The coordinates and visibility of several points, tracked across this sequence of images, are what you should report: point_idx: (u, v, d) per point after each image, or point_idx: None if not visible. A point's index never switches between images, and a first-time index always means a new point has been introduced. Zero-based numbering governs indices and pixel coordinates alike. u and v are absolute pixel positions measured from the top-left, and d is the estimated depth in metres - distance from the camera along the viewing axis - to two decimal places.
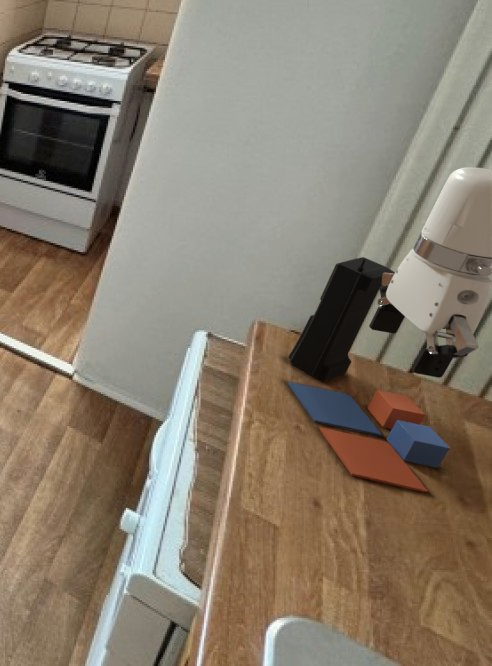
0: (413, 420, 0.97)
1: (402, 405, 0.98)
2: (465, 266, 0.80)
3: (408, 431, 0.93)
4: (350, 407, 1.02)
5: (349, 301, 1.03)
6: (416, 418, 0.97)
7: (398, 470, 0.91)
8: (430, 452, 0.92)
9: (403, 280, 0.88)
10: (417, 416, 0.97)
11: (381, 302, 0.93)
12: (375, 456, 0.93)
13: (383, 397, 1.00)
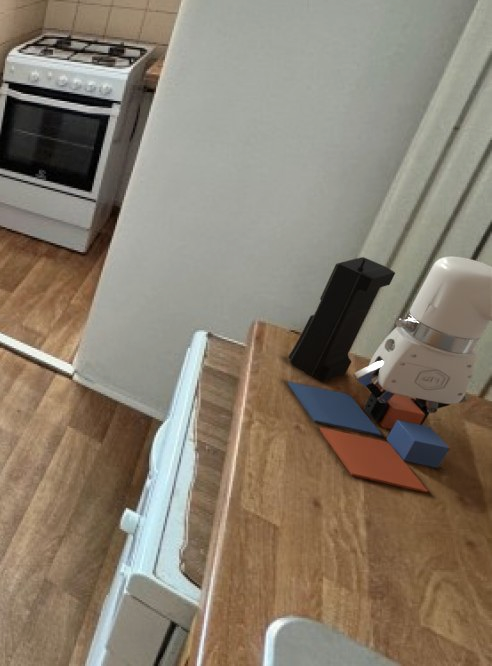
0: (413, 420, 0.97)
1: (402, 405, 0.98)
2: None
3: (408, 431, 0.93)
4: (350, 407, 1.02)
5: (349, 301, 1.03)
6: (416, 418, 0.97)
7: (398, 470, 0.91)
8: (430, 452, 0.92)
9: None
10: (417, 416, 0.97)
11: None
12: (375, 456, 0.93)
13: None
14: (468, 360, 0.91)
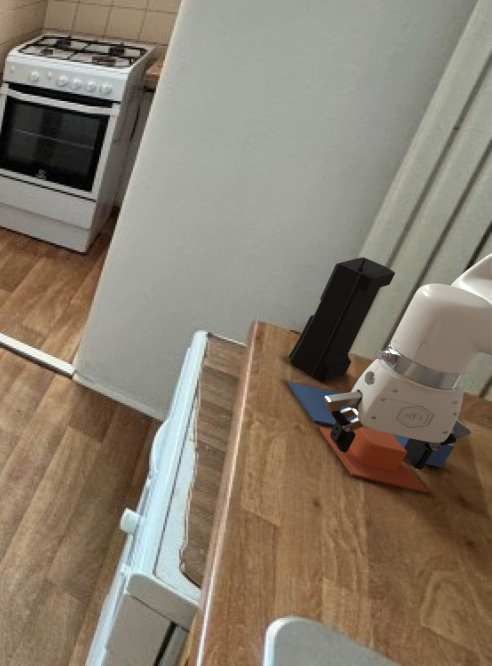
0: (394, 458, 0.90)
1: (383, 441, 0.91)
2: None
3: None
4: None
5: (349, 301, 1.03)
6: (397, 455, 0.90)
7: (398, 470, 0.91)
8: (435, 451, 0.91)
9: None
10: (398, 453, 0.90)
11: None
12: None
13: (362, 432, 0.93)
14: (454, 396, 0.84)
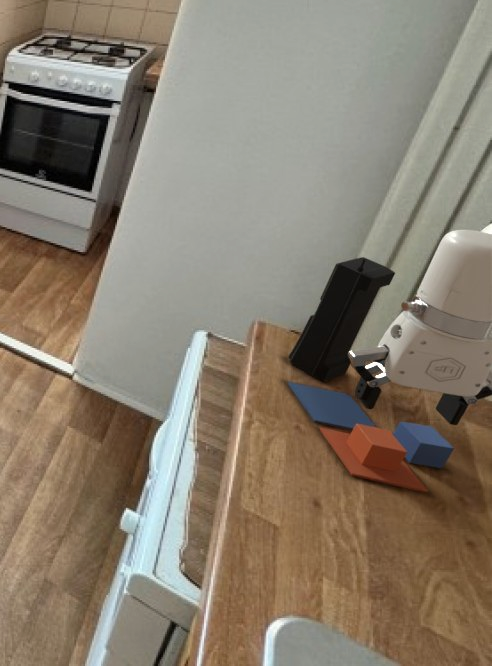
0: (394, 458, 0.90)
1: (383, 441, 0.91)
2: None
3: (413, 432, 0.93)
4: (350, 407, 1.02)
5: (348, 301, 1.03)
6: (397, 455, 0.90)
7: (398, 470, 0.91)
8: (435, 453, 0.91)
9: None
10: (398, 453, 0.90)
11: None
12: None
13: (362, 432, 0.93)
14: (486, 346, 0.81)
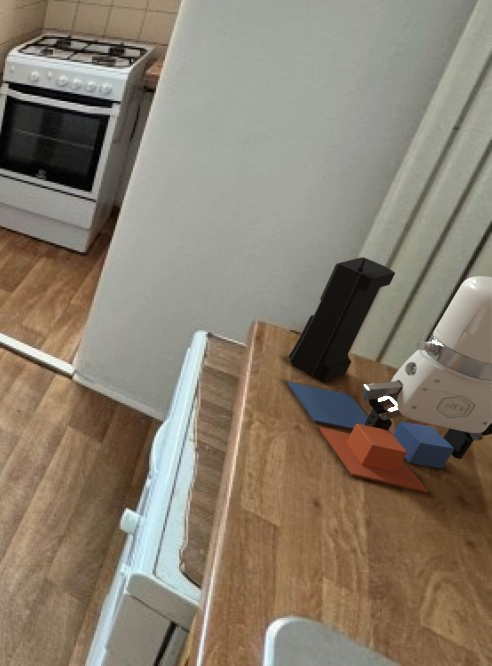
0: (394, 458, 0.90)
1: (382, 442, 0.91)
2: None
3: (413, 432, 0.93)
4: (350, 407, 1.02)
5: (349, 301, 1.03)
6: (397, 456, 0.90)
7: (398, 470, 0.91)
8: (435, 453, 0.91)
9: None
10: (398, 454, 0.90)
11: None
12: None
13: (362, 432, 0.92)
14: None
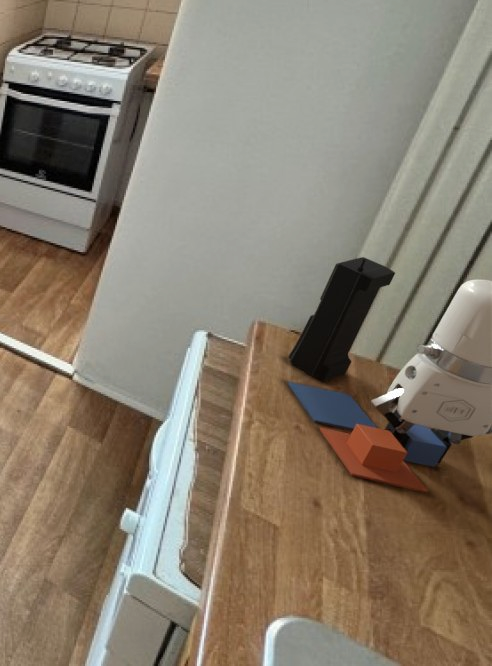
0: (394, 458, 0.90)
1: (383, 442, 0.91)
2: None
3: None
4: (350, 407, 1.02)
5: (349, 301, 1.03)
6: (397, 456, 0.90)
7: (398, 470, 0.91)
8: (427, 451, 0.92)
9: None
10: (398, 454, 0.90)
11: None
12: None
13: (363, 433, 0.92)
14: None
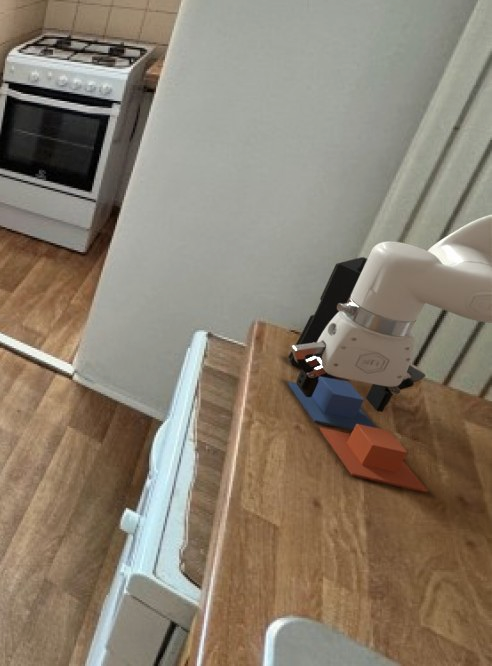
0: (394, 458, 0.90)
1: (383, 442, 0.91)
2: None
3: (328, 385, 1.01)
4: None
5: None
6: (397, 456, 0.90)
7: (398, 470, 0.91)
8: (347, 404, 1.00)
9: None
10: (398, 454, 0.90)
11: None
12: None
13: (363, 433, 0.92)
14: (406, 343, 0.93)
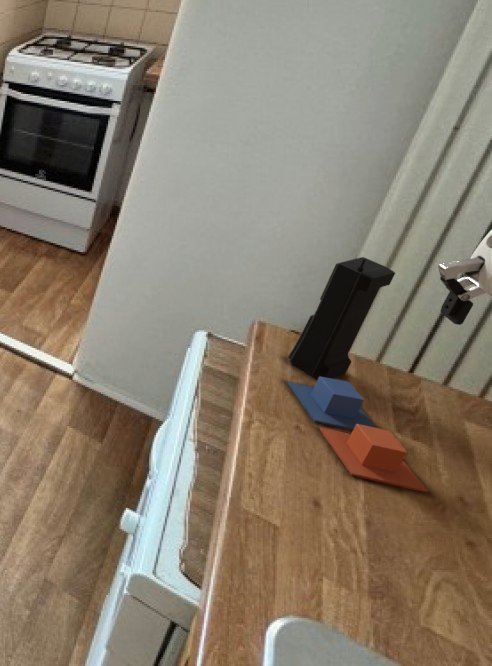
0: (394, 458, 0.90)
1: (383, 442, 0.91)
2: None
3: (328, 385, 1.01)
4: None
5: (349, 301, 1.03)
6: (397, 456, 0.90)
7: (398, 470, 0.91)
8: (347, 404, 1.00)
9: None
10: (398, 454, 0.90)
11: None
12: None
13: (363, 433, 0.92)
14: None
